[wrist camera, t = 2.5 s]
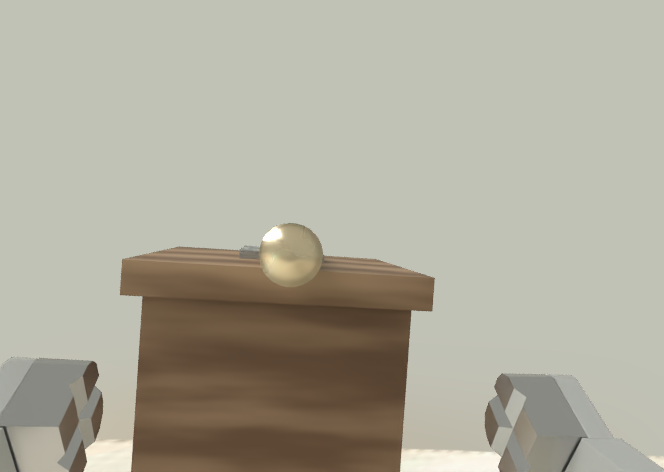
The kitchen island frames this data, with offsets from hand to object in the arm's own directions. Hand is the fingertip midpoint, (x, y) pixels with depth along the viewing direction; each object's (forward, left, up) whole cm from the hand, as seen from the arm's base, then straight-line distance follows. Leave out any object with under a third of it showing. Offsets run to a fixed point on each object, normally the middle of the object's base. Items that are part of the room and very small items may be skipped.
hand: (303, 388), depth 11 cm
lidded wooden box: (-14, +25, -25) cm, 38 cm away
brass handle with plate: (-11, +20, +1) cm, 23 cm away
